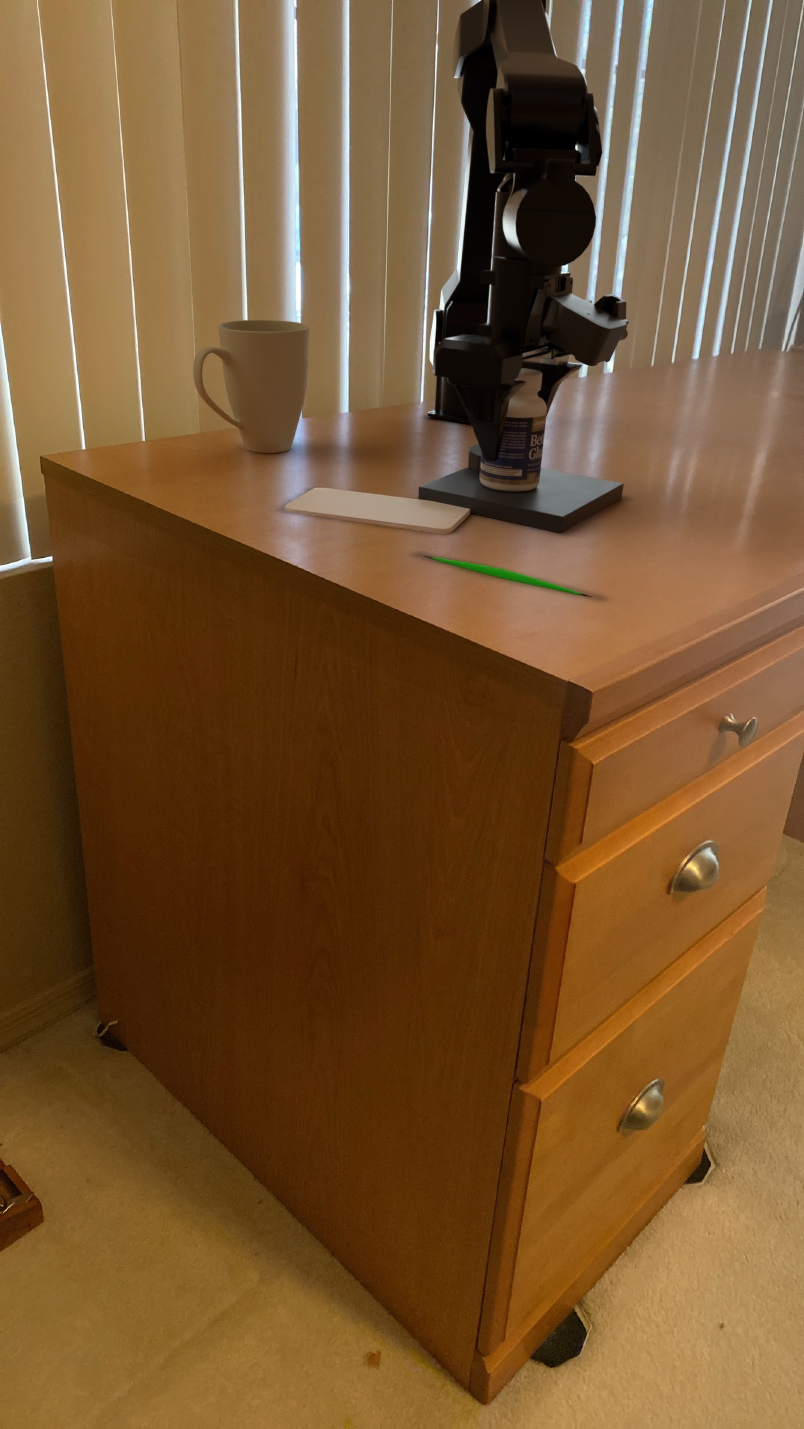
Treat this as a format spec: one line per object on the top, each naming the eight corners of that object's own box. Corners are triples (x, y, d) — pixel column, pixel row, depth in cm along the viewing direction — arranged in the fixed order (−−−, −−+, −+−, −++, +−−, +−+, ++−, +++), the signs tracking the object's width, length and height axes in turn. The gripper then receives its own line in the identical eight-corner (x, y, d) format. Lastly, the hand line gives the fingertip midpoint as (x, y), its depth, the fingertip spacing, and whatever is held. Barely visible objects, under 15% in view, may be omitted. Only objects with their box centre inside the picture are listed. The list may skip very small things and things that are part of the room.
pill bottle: (536, 495, 85) (548, 378, 80) (475, 490, 86) (483, 374, 81) (541, 479, 90) (552, 368, 85) (483, 474, 90) (491, 363, 86)
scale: (412, 500, 87) (414, 467, 86) (486, 470, 97) (488, 439, 96) (561, 533, 80) (565, 497, 79) (624, 496, 90) (628, 464, 89)
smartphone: (316, 486, 89) (473, 505, 85) (316, 494, 90) (473, 514, 86) (280, 507, 83) (448, 529, 79) (281, 516, 84) (448, 538, 79)
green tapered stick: (425, 558, 75) (425, 548, 75) (595, 600, 69) (597, 589, 68) (419, 562, 74) (419, 552, 74) (590, 604, 68) (592, 593, 68)
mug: (234, 434, 107) (228, 317, 102) (321, 441, 106) (320, 322, 100) (195, 457, 98) (186, 330, 92) (290, 466, 96) (287, 336, 91)
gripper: (569, 270, 68) (546, 491, 76) (664, 259, 82) (636, 447, 89) (433, 259, 73) (424, 467, 81) (544, 251, 87) (527, 429, 95)
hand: (510, 452), depth 86 cm, fingers open, 7 cm apart
